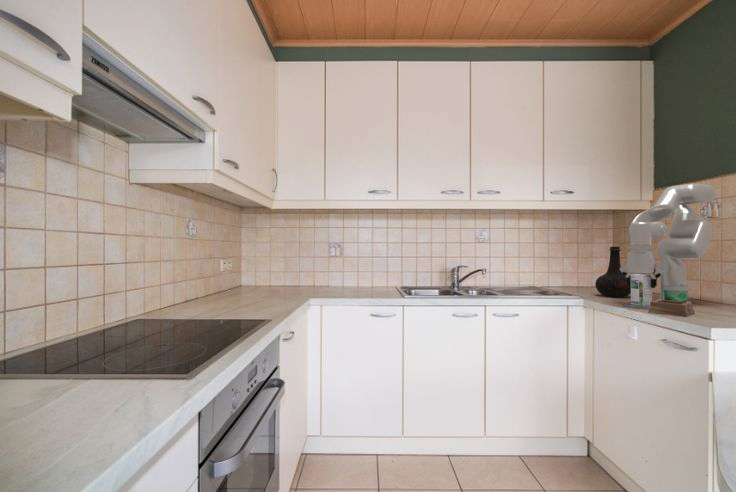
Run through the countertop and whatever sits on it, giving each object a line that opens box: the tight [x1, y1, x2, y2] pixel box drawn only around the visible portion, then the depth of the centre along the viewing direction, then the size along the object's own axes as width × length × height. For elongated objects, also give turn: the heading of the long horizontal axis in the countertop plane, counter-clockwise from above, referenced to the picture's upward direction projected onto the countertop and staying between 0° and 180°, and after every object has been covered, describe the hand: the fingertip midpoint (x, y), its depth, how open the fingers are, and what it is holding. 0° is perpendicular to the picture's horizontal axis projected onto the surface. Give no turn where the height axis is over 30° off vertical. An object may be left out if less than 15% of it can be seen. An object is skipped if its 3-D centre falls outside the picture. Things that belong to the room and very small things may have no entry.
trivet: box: [622, 302, 650, 311], centre depth 161 cm, size 11×11×1 cm
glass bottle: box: [594, 246, 631, 298], centre depth 197 cm, size 18×18×28 cm
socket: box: [648, 299, 695, 318], centre depth 147 cm, size 12×12×4 cm
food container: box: [663, 284, 691, 302], centre depth 160 cm, size 12×6×10 cm, turn 107°
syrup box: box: [630, 273, 653, 306], centre depth 161 cm, size 6×6×14 cm
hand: (641, 286), depth 162 cm, fingers open, 8 cm apart
